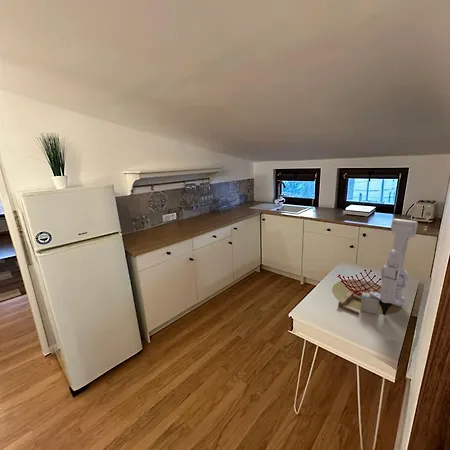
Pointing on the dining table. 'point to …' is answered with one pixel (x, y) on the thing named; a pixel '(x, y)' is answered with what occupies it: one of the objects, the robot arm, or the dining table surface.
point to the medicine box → (369, 304)
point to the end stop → (347, 299)
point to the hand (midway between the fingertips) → (384, 314)
